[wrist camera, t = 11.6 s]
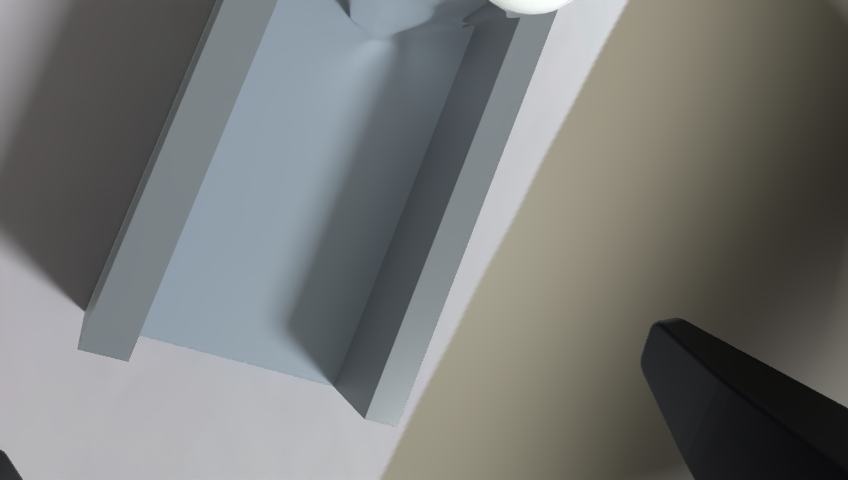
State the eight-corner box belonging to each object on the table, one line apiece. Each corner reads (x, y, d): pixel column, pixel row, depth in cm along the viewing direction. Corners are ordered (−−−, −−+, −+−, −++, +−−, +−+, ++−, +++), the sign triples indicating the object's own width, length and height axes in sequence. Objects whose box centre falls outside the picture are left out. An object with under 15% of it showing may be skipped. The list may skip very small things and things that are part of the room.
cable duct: (353, 385, 23) (396, 426, 19) (84, 312, 18) (77, 349, 15) (557, -139, 24) (634, -190, 21) (351, -322, 20) (403, -427, 16)
